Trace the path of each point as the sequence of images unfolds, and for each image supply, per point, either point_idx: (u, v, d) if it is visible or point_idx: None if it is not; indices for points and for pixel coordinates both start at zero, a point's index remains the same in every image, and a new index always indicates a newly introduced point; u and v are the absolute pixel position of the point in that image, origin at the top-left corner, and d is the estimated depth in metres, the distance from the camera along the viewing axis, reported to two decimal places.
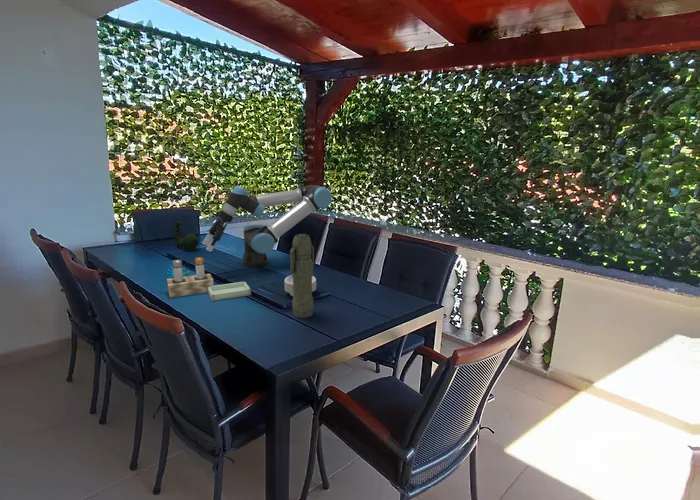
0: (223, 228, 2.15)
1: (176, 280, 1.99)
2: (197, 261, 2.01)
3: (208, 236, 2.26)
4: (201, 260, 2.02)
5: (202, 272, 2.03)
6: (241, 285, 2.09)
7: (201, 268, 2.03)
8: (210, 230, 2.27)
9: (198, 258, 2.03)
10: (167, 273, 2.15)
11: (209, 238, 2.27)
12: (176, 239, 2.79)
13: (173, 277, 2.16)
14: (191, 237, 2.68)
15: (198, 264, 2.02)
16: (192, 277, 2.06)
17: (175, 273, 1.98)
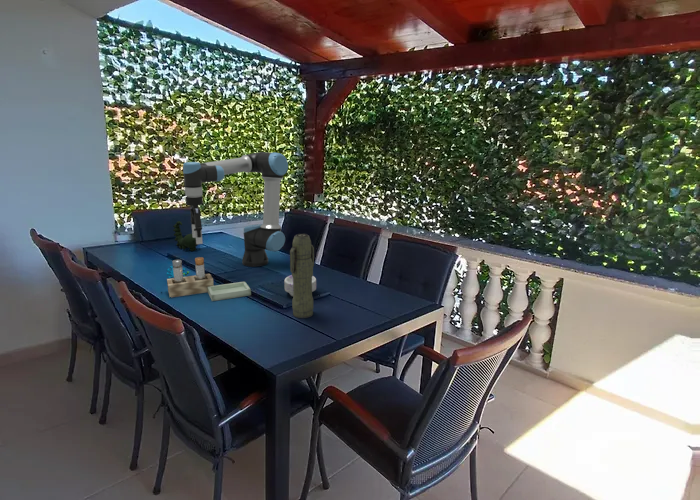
0: (198, 214, 1.91)
1: (176, 280, 1.99)
2: (197, 261, 2.01)
3: (193, 227, 2.05)
4: (201, 260, 2.02)
5: (202, 272, 2.03)
6: (241, 285, 2.09)
7: (201, 268, 2.03)
8: (191, 221, 2.04)
9: (198, 258, 2.03)
10: (167, 273, 2.15)
11: (195, 229, 2.05)
12: (176, 239, 2.79)
13: (173, 277, 2.16)
14: (191, 237, 2.68)
15: (198, 264, 2.02)
16: (192, 277, 2.06)
17: (175, 273, 1.98)
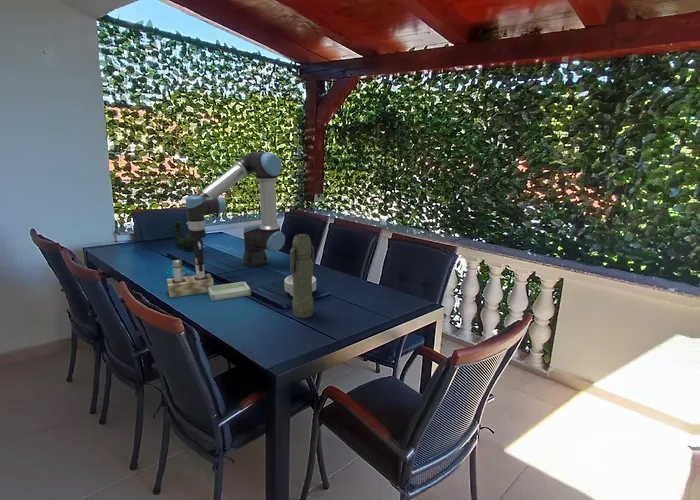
0: (201, 251, 1.97)
1: (176, 280, 1.99)
2: None
3: None
4: None
5: None
6: (241, 285, 2.09)
7: None
8: (195, 257, 2.05)
9: None
10: (167, 273, 2.16)
11: None
12: (176, 239, 2.79)
13: (173, 277, 2.17)
14: None
15: None
16: (192, 277, 2.06)
17: (175, 273, 1.98)
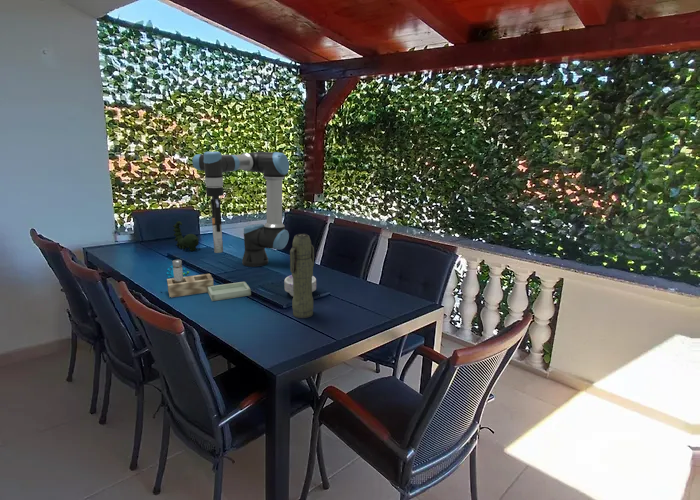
0: (219, 209, 1.87)
1: (176, 280, 1.99)
2: (214, 221, 1.92)
3: None
4: None
5: None
6: (241, 285, 2.09)
7: None
8: None
9: None
10: (167, 272, 2.16)
11: None
12: (176, 239, 2.79)
13: None
14: (191, 237, 2.68)
15: None
16: (192, 277, 2.06)
17: (175, 273, 1.98)
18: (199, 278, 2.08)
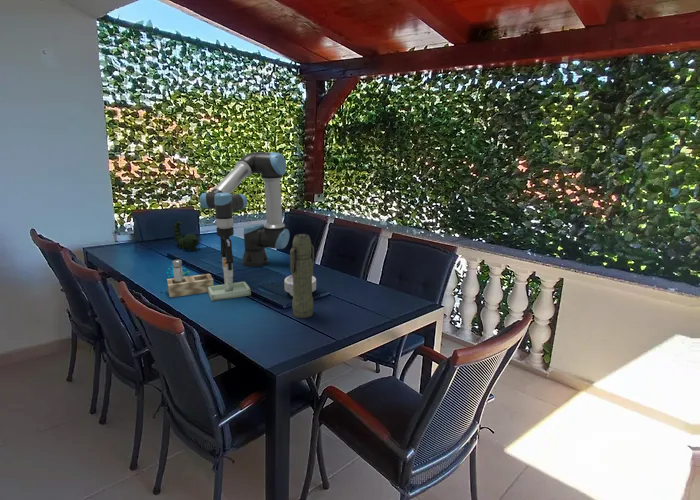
0: (230, 248, 1.90)
1: (176, 280, 1.99)
2: None
3: None
4: None
5: None
6: (241, 285, 2.09)
7: None
8: (222, 253, 2.01)
9: None
10: (167, 272, 2.17)
11: None
12: (176, 239, 2.79)
13: (173, 276, 2.17)
14: (191, 237, 2.68)
15: None
16: (192, 277, 2.06)
17: (175, 273, 1.98)
18: (199, 278, 2.08)
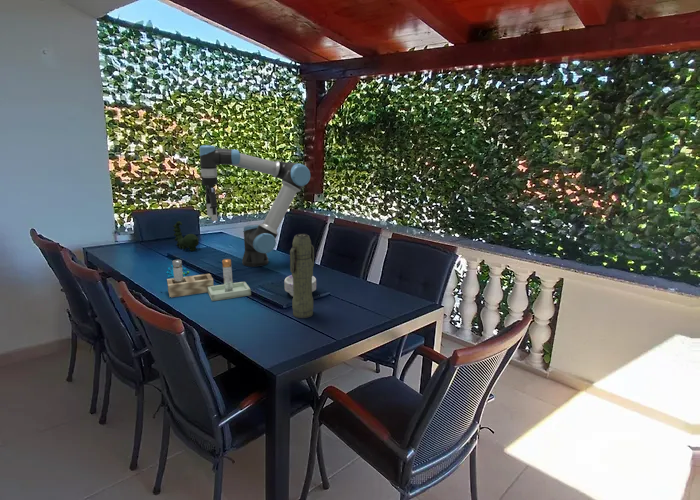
0: (213, 193, 2.08)
1: (176, 280, 1.99)
2: (225, 263, 1.96)
3: (208, 207, 2.21)
4: (229, 262, 1.96)
5: (230, 274, 1.98)
6: (241, 285, 2.09)
7: (229, 270, 1.97)
8: (206, 200, 2.21)
9: (225, 260, 1.97)
10: (167, 272, 2.17)
11: (210, 208, 2.22)
12: (176, 239, 2.79)
13: (172, 276, 2.18)
14: (191, 237, 2.68)
15: (226, 266, 1.96)
16: (192, 277, 2.06)
17: (175, 273, 1.98)
18: (199, 278, 2.08)
